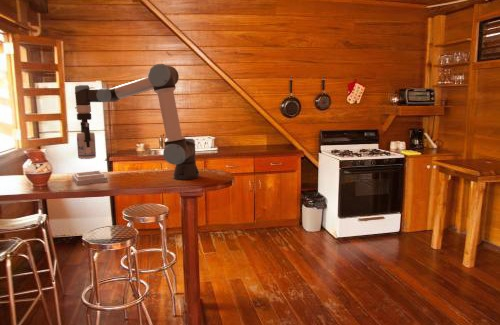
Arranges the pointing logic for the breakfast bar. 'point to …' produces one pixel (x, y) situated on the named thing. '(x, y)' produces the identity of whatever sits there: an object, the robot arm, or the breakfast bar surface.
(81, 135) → the supplement tub
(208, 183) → the breakfast bar surface
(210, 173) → the breakfast bar surface
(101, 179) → the base plate
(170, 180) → the breakfast bar surface
